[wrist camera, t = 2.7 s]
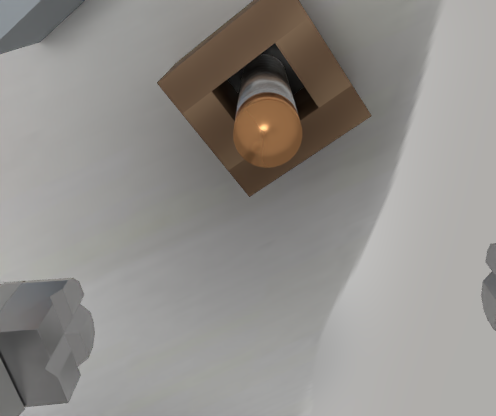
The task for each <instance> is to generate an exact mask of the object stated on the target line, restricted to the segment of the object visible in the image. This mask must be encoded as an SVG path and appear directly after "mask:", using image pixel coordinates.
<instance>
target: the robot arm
mask: <svg viewBox="0 0 496 416" xmlns="http://www.w3.org/2000/svg"><path fill="white" fill-rule="evenodd" d="M486 263H487V265H488V266H489V268H490V269H491V270H492V272H491V273H490V274H489V275H488V276H487V277H486V278H485V280H484V281H483V284H482V294H481V297H482V303H483V309H484V312H485V315H486V317H487V319H488V321H489V323H490V324H491V326H492V328H493V329H494V330H496V243H493V244H490V246H489V249H488V251H487V256H486ZM83 296H84V293H83V290H82V288H81V285H80V282H79V281H77V280H76V279H74V278H64V279H48V280H32V281H17V282H7V283H2V284H0V416H19V415H20V414H21V413H22V412H23V411H24V410H25V407H30V406H41V405H52V404H62V403H68V402H69V400H70V398H71V396H72V394H73V391H74V389H75V387H76V385H77V382H78V380H79V378H80V376H81V375H80V372H79V369H78V366H79V365H80V364H81V363H83V362H84V361H85V360H86V359H88V358H89V355H90V353H91V350H92V348H93V343H94V335H95V331H94V323H93V319H92V316H91V313H90V311H88V310H87V309H86V308H85V307H83V306H82V305H81V304H80V303H81V301H82V298H83Z"/></svg>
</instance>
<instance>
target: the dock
mask: <svg viewBox="0 0 496 416" xmlns="http://www.w3.org/2000/svg"><path fill="white" fill-rule="evenodd" d="M84 1H85V0H0V54H2V53H5V52H9V51H12V50H15V49H19V48H22V47H25V46H29V45H32V44H35V43H39V42H40V41H41V40H42V39H44V38H45V37H46V36H47V35H48V34H49V33H50V32H51V31H52V30H53V29H54V28H55V27H57V26H58V25H59V24H60V23H61V22H62V21H63V20H64V19H65V18H66V17H67V16H68V15H69V14H71V13H72V12H73V11H74V10H75V9H76V8H77V7H78V6H79V5H80V4H81V3H82V2H84Z"/></svg>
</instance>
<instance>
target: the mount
mask: <svg viewBox="0 0 496 416" xmlns="http://www.w3.org/2000/svg"><path fill="white" fill-rule="evenodd" d="M274 43H275V44H276V45H277V47H278V48H279V50H280V51H281V53H282V54H283V56H284V57H285V59H286V60H287V62H288V63H289V65H290V66H291V67H292V69H293V70H294V72H295V73H296V75H297V76H298V78H299V79H300V81H301V82H302V84H303V85H304V87H303V88H302V89H300V90H299V91H297V92H296V93H295V94H293V99H294V102H295V105H296V109H297V112H298V116H299V119H300V123H301V126H302V141H301V145H300V147H299V149H298V151H297V153H296V154H295V155H294V156H293V157H292V158H291V159H290V160H289V161H288V162H286V163H284V164H282V165H280V166H276V167H271V168H264V167H258V166H255V165H253V164H251V163H249V162H247V161H246V160H245V159H244V158H243V157H242V156H241V155H240V154H239V152H238V151H237V149H236V147H235V144H234V140H233V130H234V123H235V117H236V111H237V105H238V98H239V95H238V94H237V92H236V91H235V90H234V88H233V87H232V86H231V84H230V83H229V82H228V80H227V79H228V78H230V77H231V76H232V75H234V74H235V73H236V72H238V71H239V70H240V69H242V68H243V67H244V66H245V65H247V64H248V63H249V62H251V61H252V60H253V59H255V58H256V57H257V56H259V55H260V54H261V53H262V52H264V51H265V50H266V49H268V48H269V47H270V46H272V45H273V44H274ZM157 84H158V85H159V86H160V87H161V89H162V90H163V91H164V92H165V94H166V95H167V96H168V97H169V99H170V100H171V101H172V102H173V103H174V105H175V106H176V107H177V108H178V110H179V111H180V112H181V113H182V115H183V116H184V117H185V118H186V119H187V121H188V122H189V123H190V124H191V126H192V127H193V128H194V129H195V131H196V132H197V133H198V134H199V135H200V137H201V138H202V139H203V140H204V142H205V143H206V144H207V145H208V147H209V148H210V149H211V150H212V151H213V153H214V154H215V155H216V156H217V158H218V159H219V160H220V161H221V163H222V164H223V165H224V166H225V167H226V169H227V170H228V171H229V172H230V174H231V175H232V176H233V177H234V179H235V180H236V181H237V182H238V184H239V185H240V186H241V187H242V188H243V190H244V191H245V192H246V193H247V195H248V196H249V197H250V196H252V195H253V194H255V193H256V192H258V191H259V190H261V189H262V188H264V187H265V186H267V185H268V184H270V183H271V182H273V181H274V180H276V179H277V178H279V177H280V176H282V175H283V174H285V173H286V172H288V171H289V170H291V169H292V168H294V167H295V166H297V165H298V164H300V163H301V162H303V161H304V160H306V159H307V158H309V157H310V156H312V155H313V154H315V153H317V152H318V151H320V150H321V149H323V148H324V147H326V146H327V145H329V144H330V143H332V142H333V141H335V140H336V139H338V138H339V137H341V136H342V135H344V134H345V133H347V132H348V131H350V130H351V129H353V128H354V127H356V126H357V125H359V124H360V123H362V122H363V121H365V120H366V119H368V118H369V117H371V114H370V113H369V111H368V109H367V108H366V106H365V105H364V103H363V101H362V100H361V98H360V97H359V95H358V94H357V92H356V90H355V89H354V87H353V86H352V84H351V83H350V81H349V79H348V78H347V76H346V75H345V73H344V71H343V70H342V68H341V67H340V65H339V64H338V62H337V60H336V59H335V57H334V56H333V54H332V52H331V51H330V49H329V48H328V46H327V45H326V43H325V41H324V40H323V38H322V37H321V35H320V33H319V32H318V30H317V29H316V27H315V26H314V24H313V22H312V21H311V19H310V18H309V16H308V15H307V13H306V11H305V10H304V8H303V7H302V5H301V3H300V2H299V0H253V1H252V2H251V3H250V4H249V5H247V6H246V7H245V8H244V9H242V10H241V11H240V12H239V13H237V14H236V15H235V16H234V17H232V18H231V19H230V20H229V21H227V22H226V23H225V24H224V25H223V26H221V27H220V28H219V29H218V30H216V31H215V32H214V33H213V34H211V35H210V36H209V37H208V38H206V39H205V40H204V41H203V42H202V43H200V44H199V45H198V46H197V47H195V48H194V49H193V50H192V51H190V52H189V53H188V54H187V55H185V56H184V57H183V58H182V59H180V60H179V61H178V62H177V63H176V64H175V65H174V66H173V67H172V68H171V69H170V70H169V71H168V72H167V73H166V74H165V75H164V76H163V77H162V78H161V79H160V80H159V81H158V82H157Z"/></svg>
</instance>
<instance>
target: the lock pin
mask: <svg viewBox="0 0 496 416" xmlns="http://www.w3.org/2000/svg"><path fill="white" fill-rule="evenodd" d="M233 140H234V144H235V147H236V149H237V151H238V152H239V154H240V155H241V156H242V157H243V158H244V159H245V160H246V161H247V162H249V163H251V164H253V165H255V166H258V167H264V168H271V167H276V166H280V165H282V164H284V163H286V162H288V161H289V160H290V159H291V158H292V157H293V156H294V155H295V154H296V153H297V151H298V149H299V147H300V145H301V141H302V126H301V123H300V119H299V116H298V112H297V109H296V105H295V102H294V99H293V95H292V92H291V88H290V85H289V81H288V78H287V74H286V71H285V68H284V66H283V64H282V63H281V61H280V60H279V59H277V58H276V57H274V56H272V55H267V54H261V55H259V56H257V57H256V58H255V59H253V60H252V61H251V62H249V63H248V64H247V65H245V67H244V69H243V73H242V80H241V86H240V92H239V98H238V105H237V111H236V117H235V123H234V130H233Z"/></svg>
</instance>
